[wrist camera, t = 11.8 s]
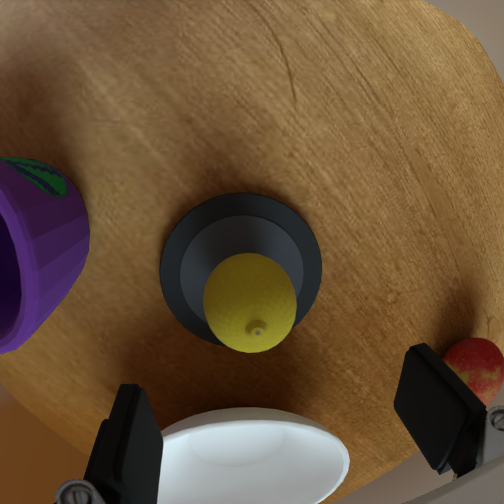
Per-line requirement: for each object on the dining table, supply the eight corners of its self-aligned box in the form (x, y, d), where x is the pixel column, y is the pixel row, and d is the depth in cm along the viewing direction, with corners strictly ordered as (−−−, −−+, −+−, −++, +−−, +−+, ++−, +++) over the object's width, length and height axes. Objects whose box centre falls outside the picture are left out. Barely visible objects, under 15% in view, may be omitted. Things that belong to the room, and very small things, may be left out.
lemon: (293, 289, 24) (328, 346, 16) (228, 323, 24) (236, 392, 16) (259, 225, 22) (283, 259, 14) (190, 263, 22) (178, 316, 14)
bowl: (163, 338, 24) (150, 392, 18) (361, 383, 28) (390, 429, 22) (131, 464, 29) (123, 508, 22) (282, 488, 33) (292, 528, 26)
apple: (441, 326, 28) (488, 365, 20) (486, 324, 29) (529, 355, 21) (415, 387, 30) (450, 431, 22) (461, 379, 31) (496, 415, 23)
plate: (164, 186, 21) (162, 187, 20) (329, 201, 23) (334, 202, 22) (161, 337, 24) (160, 343, 24) (305, 343, 26) (308, 348, 25)
